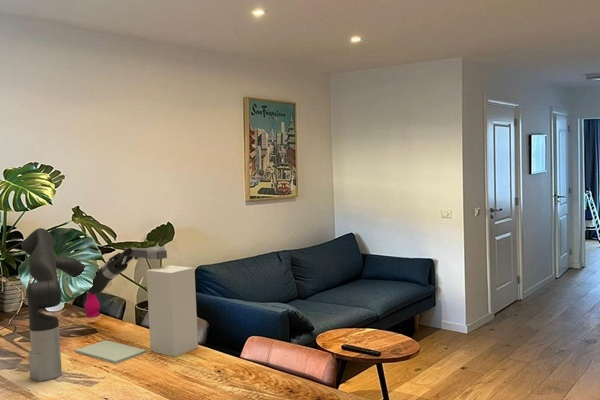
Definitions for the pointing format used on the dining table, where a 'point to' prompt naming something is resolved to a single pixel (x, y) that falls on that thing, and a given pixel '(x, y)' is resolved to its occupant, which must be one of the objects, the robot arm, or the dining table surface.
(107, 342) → the assembly mat
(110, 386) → the dining table surface
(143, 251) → the gray mallet
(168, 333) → the tower
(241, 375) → the dining table surface
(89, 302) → the pepper mill
